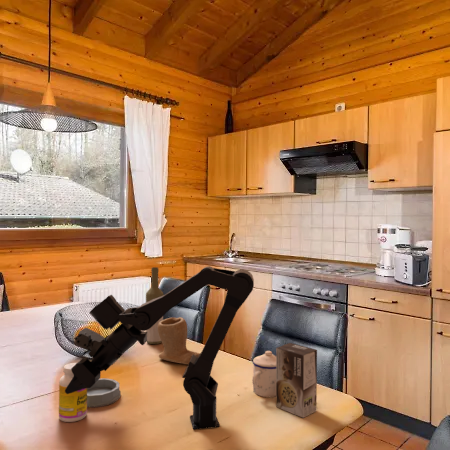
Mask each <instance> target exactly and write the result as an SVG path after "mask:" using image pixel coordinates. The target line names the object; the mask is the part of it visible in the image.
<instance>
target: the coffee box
mask: <svg viewBox="0 0 450 450" xmlns="http://www.w3.org/2000/svg"><path fill="white" fill-rule="evenodd" d="M275 349H276V350H275V351H276V352H275V353H276V354H275V356H276V398H275V402H276V403H275V406H276V408H279V409H281V410H283V411H284V412H288V413H291V414H293V415H295V416H298V417H300V418H306V417H307V416H309V415H312V414H313V413H316V412H317V399H318V398H317V393H318V392H317V384H318V383H317V382H318V378H317V377H318V372H317V371H318V369H317V368H318V349H315V348H312V347H307V346H303V345H300V344H296V343H292V342H289V343H285V344H283V345H280V346H278V347H275Z"/></svg>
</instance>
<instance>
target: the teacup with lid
mask: <svg viewBox="0 0 450 450" xmlns="http://www.w3.org/2000/svg"><path fill="white" fill-rule="evenodd" d="M252 365H253V367H252V368H253V374H252V379H251V381H252V382H251V383H252V390H253V393H254V394H256V395H257V396H259V397H262V398H275V397H276V354H273V352H272V351H270V350H265V352H264V353H263V354H262V355H258V356H256V357H254V358H253V360H252Z"/></svg>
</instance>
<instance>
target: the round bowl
mask: <svg viewBox="0 0 450 450" xmlns="http://www.w3.org/2000/svg"><path fill="white" fill-rule="evenodd" d="M121 396H122V395H121V390H120V382H119V381H117V380H116V379H112V378H107V377H106V378H104V377H103V378H102V377H101V378H100V379H99V380H98V381H97V382H96V383H95V384H94V385H93V386H92V387H91V388H87V408H100V407H101V408H102V407H105V406H109V405H112V404H114V403H115V402H117V401H119V400H120V398H121Z"/></svg>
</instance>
